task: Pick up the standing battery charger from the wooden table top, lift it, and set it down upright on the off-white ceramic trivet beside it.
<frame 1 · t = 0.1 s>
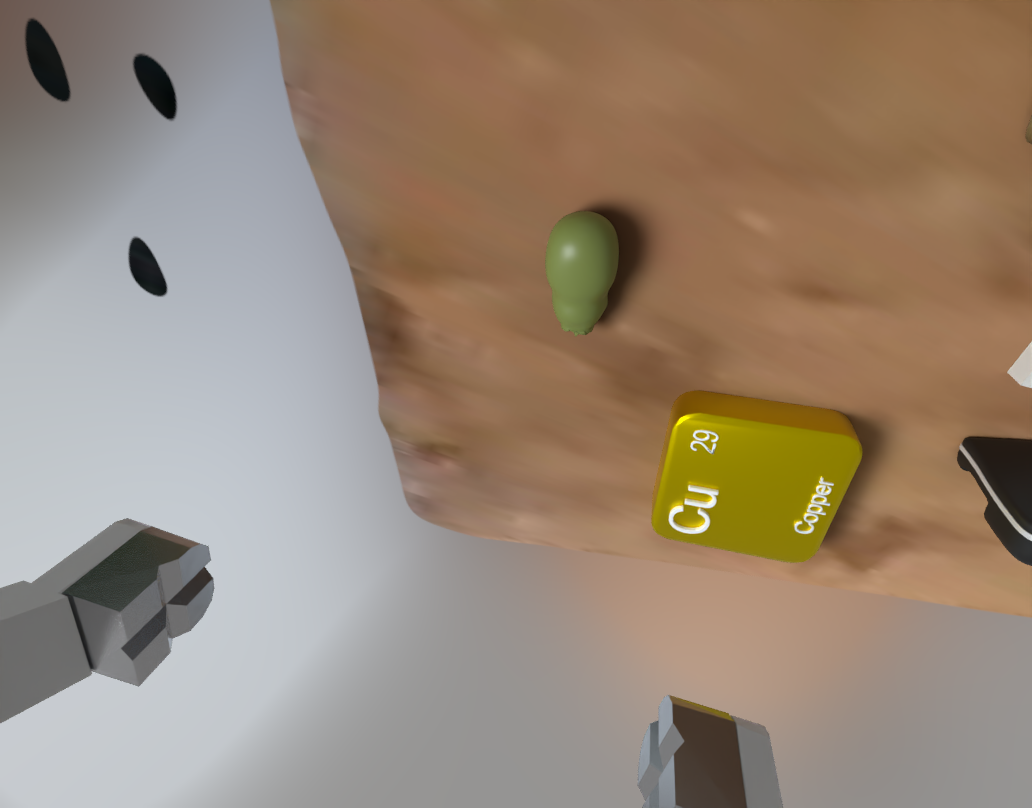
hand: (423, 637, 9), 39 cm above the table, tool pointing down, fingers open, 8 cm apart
element tile: (742, 462, 52), on the table
battery charger: (999, 454, 45), on the table
pear: (585, 267, 45), on the table
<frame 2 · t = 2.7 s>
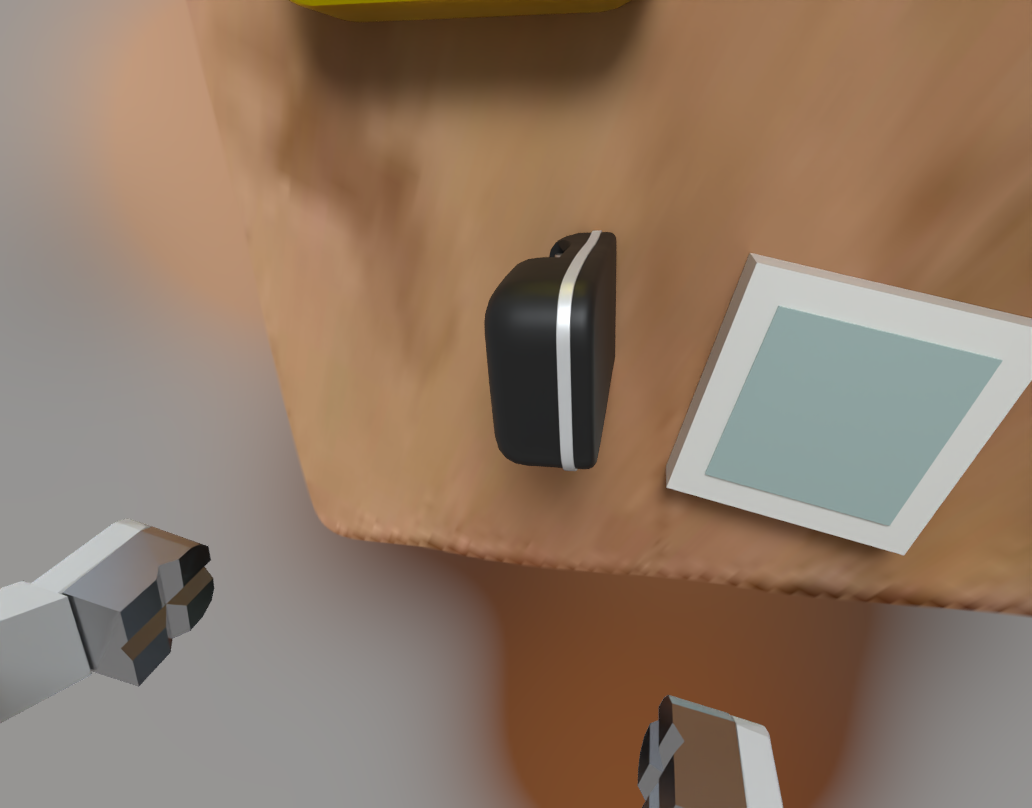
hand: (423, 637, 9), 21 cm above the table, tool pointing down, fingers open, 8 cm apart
battery charger: (578, 297, 27), on the table
trivet: (825, 402, 27), on the table
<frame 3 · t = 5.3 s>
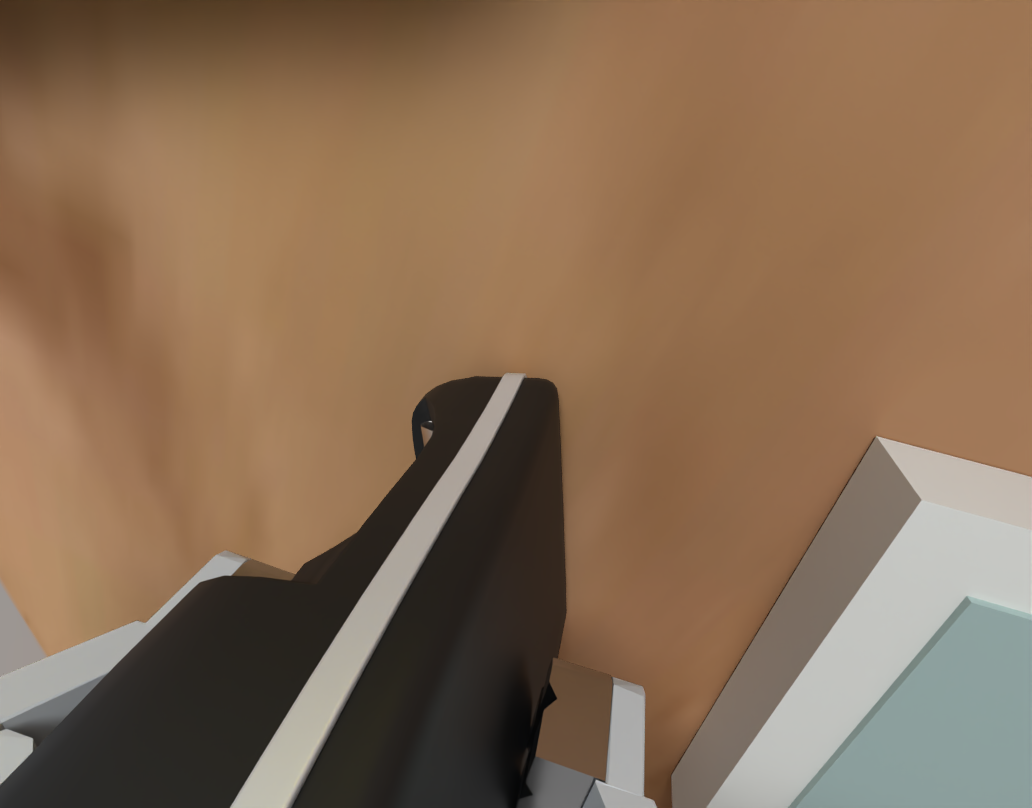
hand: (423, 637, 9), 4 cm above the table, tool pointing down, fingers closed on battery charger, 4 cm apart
battery charger: (488, 490, 13), on the table, touching gripper
trivet: (1015, 725, 12), on the table
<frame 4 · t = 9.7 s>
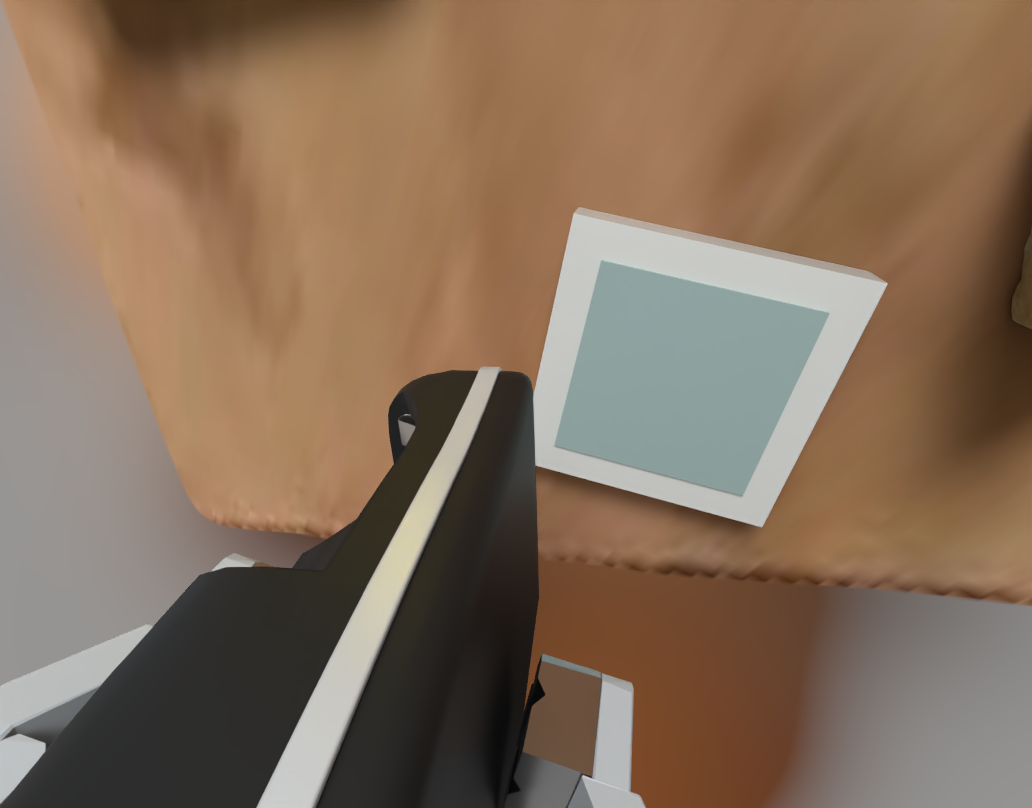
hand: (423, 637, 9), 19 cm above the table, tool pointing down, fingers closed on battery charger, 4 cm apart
battery charger: (462, 482, 13), point 14 cm above the table, touching gripper
trivet: (674, 367, 26), on the table
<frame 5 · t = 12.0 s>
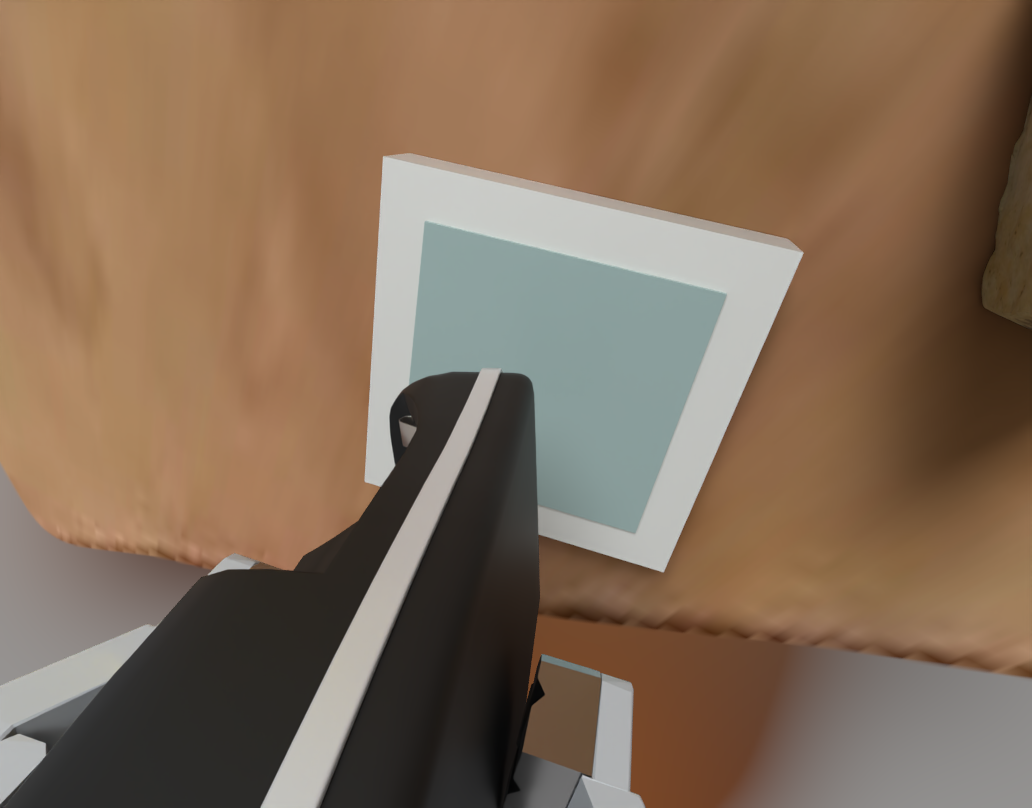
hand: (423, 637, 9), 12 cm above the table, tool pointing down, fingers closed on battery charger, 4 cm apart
battery charger: (462, 483, 13), point 8 cm above the table, touching gripper
trivet: (550, 366, 20), on the table
when the fingers open (7 cm above the table, at t = 14.0 s): battery charger moves 2 cm, resting on trivet.
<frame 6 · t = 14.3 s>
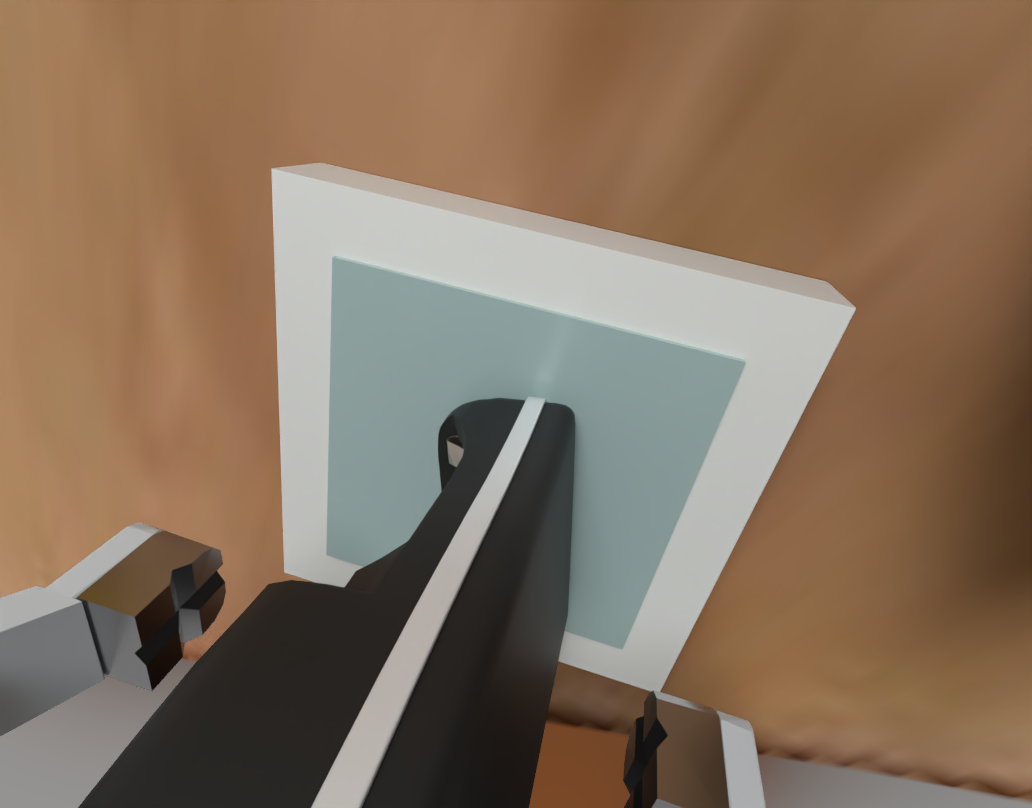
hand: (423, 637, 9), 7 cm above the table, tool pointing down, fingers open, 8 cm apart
battery charger: (502, 499, 14), point 2 cm above the table, touching trivet
trivet: (514, 435, 16), on the table
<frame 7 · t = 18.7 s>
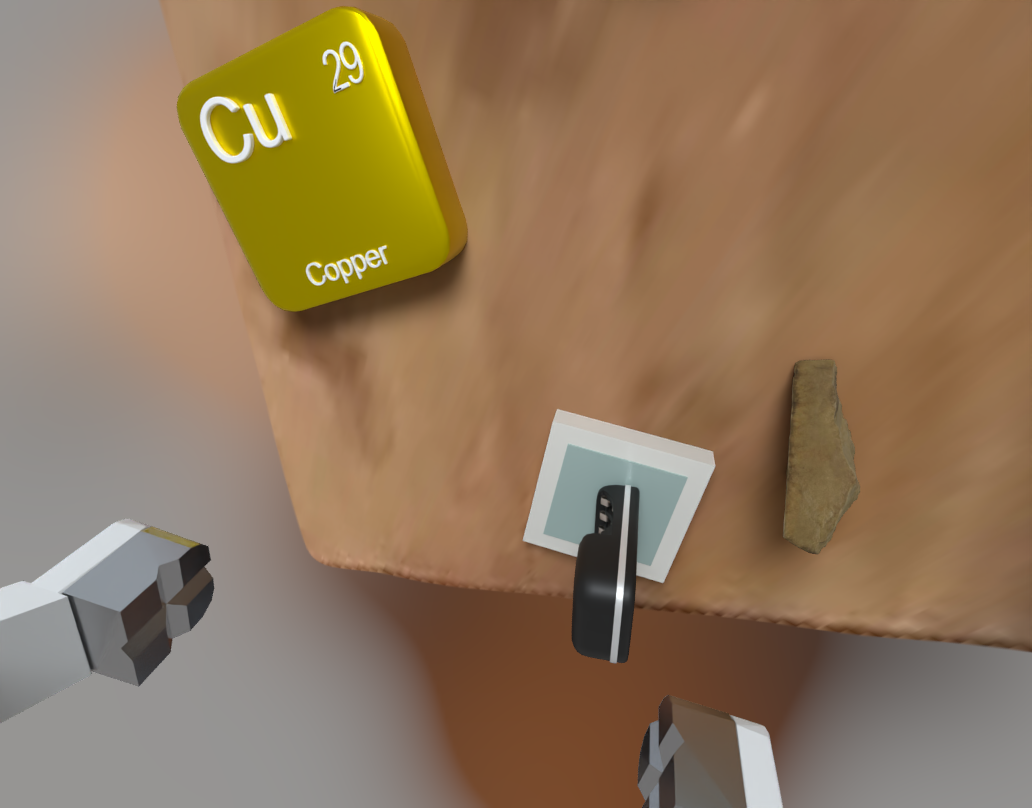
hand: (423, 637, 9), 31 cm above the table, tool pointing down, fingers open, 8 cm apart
element tile: (346, 174, 38), on the table
rock: (817, 426, 38), on the table
battery charger: (611, 514, 43), point 2 cm above the table, touching trivet
trivet: (612, 491, 44), on the table
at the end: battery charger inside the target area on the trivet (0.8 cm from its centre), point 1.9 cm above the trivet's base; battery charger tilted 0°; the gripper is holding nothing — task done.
